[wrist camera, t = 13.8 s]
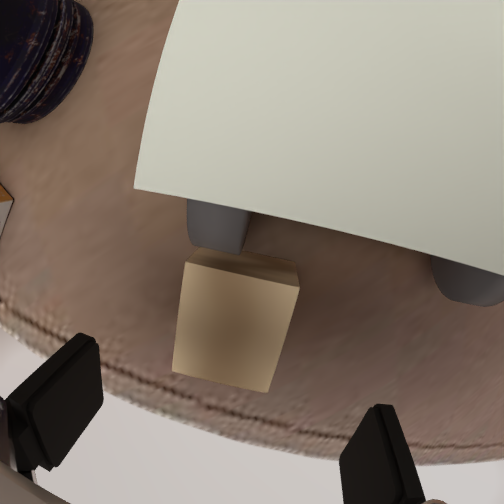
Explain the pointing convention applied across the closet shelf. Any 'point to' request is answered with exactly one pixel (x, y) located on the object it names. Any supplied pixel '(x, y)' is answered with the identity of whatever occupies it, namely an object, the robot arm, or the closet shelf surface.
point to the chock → (234, 317)
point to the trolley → (338, 126)
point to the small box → (4, 206)
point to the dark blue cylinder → (40, 55)
